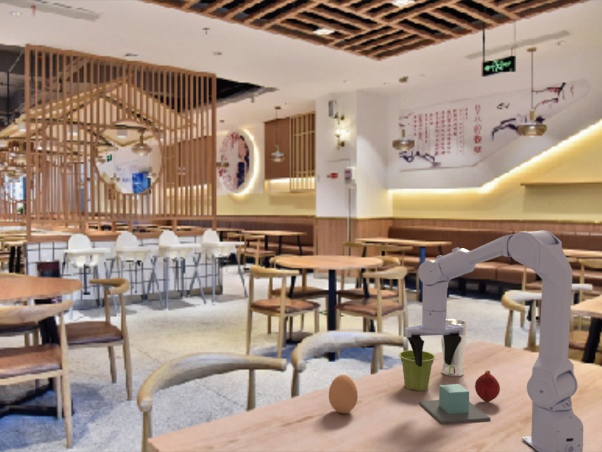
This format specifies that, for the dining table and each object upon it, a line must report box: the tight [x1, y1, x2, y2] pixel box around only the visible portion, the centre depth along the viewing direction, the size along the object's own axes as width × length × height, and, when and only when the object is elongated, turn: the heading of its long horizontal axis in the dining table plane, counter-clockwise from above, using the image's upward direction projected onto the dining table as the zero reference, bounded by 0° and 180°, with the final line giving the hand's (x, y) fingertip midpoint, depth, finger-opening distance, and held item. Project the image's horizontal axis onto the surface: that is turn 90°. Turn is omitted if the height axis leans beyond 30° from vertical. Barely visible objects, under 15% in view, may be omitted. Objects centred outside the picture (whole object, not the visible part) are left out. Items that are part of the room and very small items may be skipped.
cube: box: [438, 383, 470, 414], centre depth 124 cm, size 5×5×5 cm
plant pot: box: [398, 349, 436, 392], centre depth 140 cm, size 9×9×9 cm
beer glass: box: [440, 318, 467, 377], centre depth 151 cm, size 7×7×15 cm
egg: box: [328, 374, 358, 415], centre depth 123 cm, size 7×7×9 cm
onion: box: [474, 369, 501, 403], centre depth 130 cm, size 6×6×8 cm
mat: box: [419, 399, 492, 425], centre depth 124 cm, size 12×12×1 cm
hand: (433, 364), depth 128 cm, fingers open, 7 cm apart
